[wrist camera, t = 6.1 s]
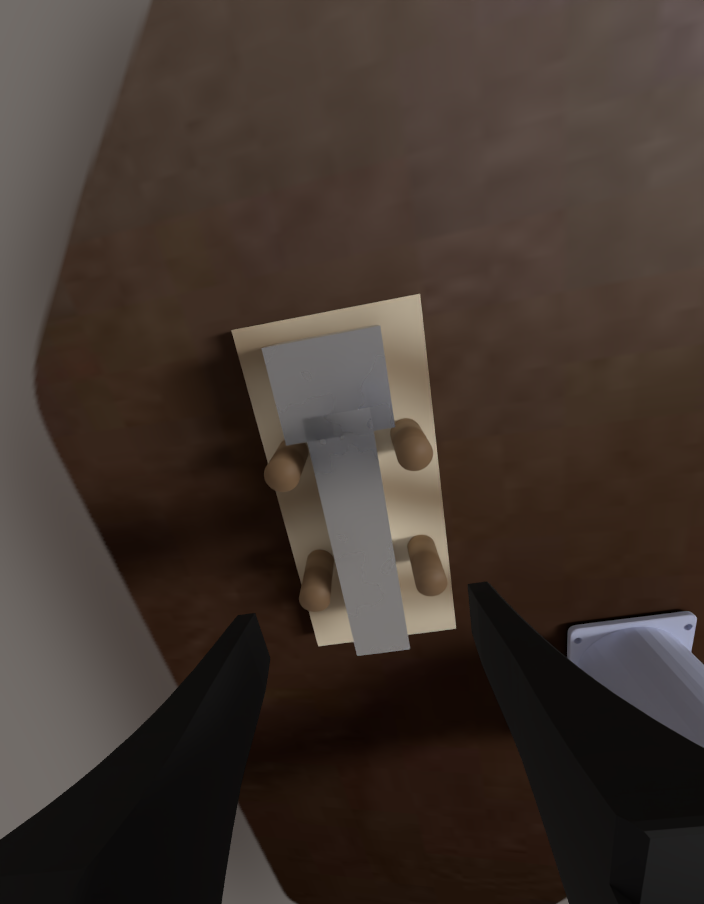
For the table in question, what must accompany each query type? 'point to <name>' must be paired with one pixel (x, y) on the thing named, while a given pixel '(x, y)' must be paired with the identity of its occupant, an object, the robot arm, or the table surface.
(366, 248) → the table surface
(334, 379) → the bar
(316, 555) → the peg cradle
